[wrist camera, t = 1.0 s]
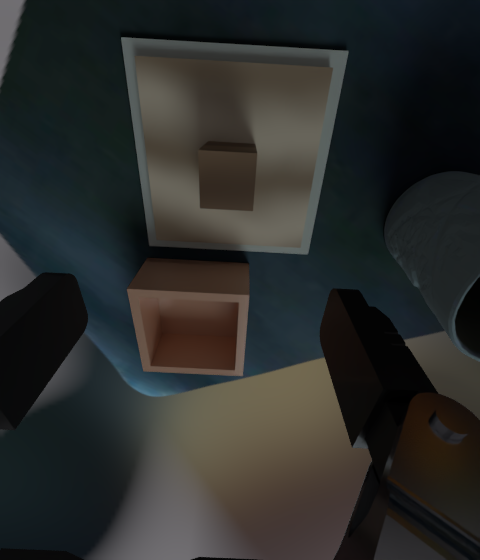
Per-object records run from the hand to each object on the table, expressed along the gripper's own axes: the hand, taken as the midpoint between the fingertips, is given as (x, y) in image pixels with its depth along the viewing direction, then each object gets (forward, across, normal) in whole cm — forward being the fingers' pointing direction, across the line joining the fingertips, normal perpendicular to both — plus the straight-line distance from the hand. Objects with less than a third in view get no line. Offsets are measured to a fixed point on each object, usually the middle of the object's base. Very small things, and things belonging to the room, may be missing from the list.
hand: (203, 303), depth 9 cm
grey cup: (+17, -18, +3) cm, 25 cm away
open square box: (+17, +3, +13) cm, 21 cm away
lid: (+16, 0, -1) cm, 17 cm away
